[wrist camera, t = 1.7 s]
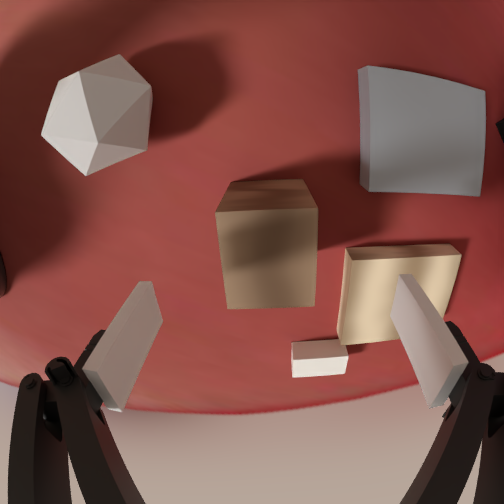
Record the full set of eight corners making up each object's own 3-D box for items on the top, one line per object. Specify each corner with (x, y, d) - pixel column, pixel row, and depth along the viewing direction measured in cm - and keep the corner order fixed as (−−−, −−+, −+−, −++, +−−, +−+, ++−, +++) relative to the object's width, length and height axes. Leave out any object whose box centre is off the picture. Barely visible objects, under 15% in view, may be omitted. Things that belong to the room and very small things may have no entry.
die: (131, 45, 19) (24, 71, 13) (193, 62, 17) (51, 92, 11) (126, 124, 26) (36, 160, 19) (180, 161, 23) (70, 212, 17)
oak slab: (335, 327, 31) (340, 345, 28) (344, 245, 27) (351, 260, 24) (427, 317, 30) (437, 332, 28) (447, 241, 26) (461, 254, 23)
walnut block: (238, 256, 27) (227, 308, 20) (231, 181, 24) (215, 212, 17) (303, 253, 27) (314, 306, 20) (302, 178, 24) (318, 208, 17)
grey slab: (358, 182, 24) (368, 191, 21) (356, 70, 20) (367, 65, 17) (463, 187, 23) (479, 196, 20) (466, 90, 19) (485, 91, 16)
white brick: (291, 358, 33) (292, 377, 31) (291, 340, 32) (293, 360, 29) (340, 355, 33) (344, 373, 30) (343, 337, 32) (348, 356, 29)
